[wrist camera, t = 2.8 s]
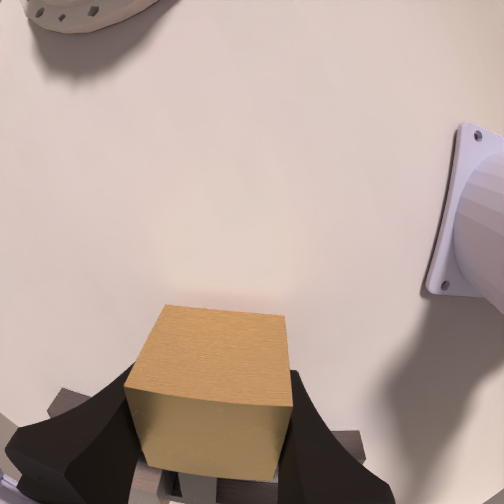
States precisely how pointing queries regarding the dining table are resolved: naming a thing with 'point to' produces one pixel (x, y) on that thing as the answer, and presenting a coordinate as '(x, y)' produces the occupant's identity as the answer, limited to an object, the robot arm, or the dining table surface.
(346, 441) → the grey tray
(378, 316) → the dining table surface
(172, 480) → the silver gray cube
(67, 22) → the mechanical component
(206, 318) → the brushed gold cube
